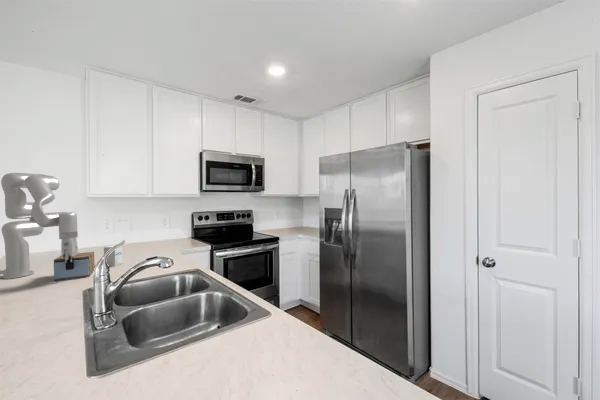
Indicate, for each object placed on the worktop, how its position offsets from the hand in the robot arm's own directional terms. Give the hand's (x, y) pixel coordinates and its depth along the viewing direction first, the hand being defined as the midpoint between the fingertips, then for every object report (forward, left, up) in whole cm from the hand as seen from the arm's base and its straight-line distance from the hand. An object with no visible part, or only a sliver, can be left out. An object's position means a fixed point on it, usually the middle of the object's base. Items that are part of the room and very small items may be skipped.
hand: (70, 269), depth 143 cm
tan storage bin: (0, +11, -6) cm, 12 cm away
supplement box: (+16, +27, -6) cm, 32 cm away
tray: (0, +10, -5) cm, 11 cm away
